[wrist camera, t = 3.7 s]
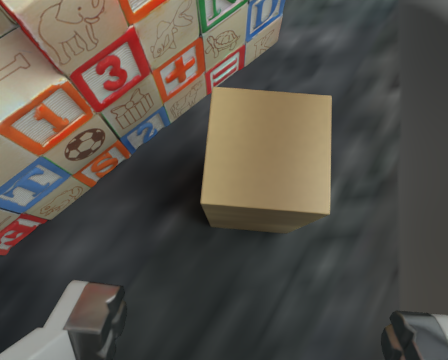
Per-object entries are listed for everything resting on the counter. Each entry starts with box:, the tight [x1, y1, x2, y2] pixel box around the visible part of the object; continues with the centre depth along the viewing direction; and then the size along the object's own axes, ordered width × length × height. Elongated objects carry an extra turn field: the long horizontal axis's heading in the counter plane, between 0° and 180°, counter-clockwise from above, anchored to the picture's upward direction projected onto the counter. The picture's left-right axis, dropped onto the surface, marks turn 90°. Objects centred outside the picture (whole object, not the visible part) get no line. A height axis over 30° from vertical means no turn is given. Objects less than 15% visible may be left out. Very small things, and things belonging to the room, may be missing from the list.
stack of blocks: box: [0, 0, 285, 255], centre depth 16 cm, size 21×6×12 cm, turn 131°
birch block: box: [200, 87, 332, 233], centre depth 16 cm, size 4×4×9 cm
